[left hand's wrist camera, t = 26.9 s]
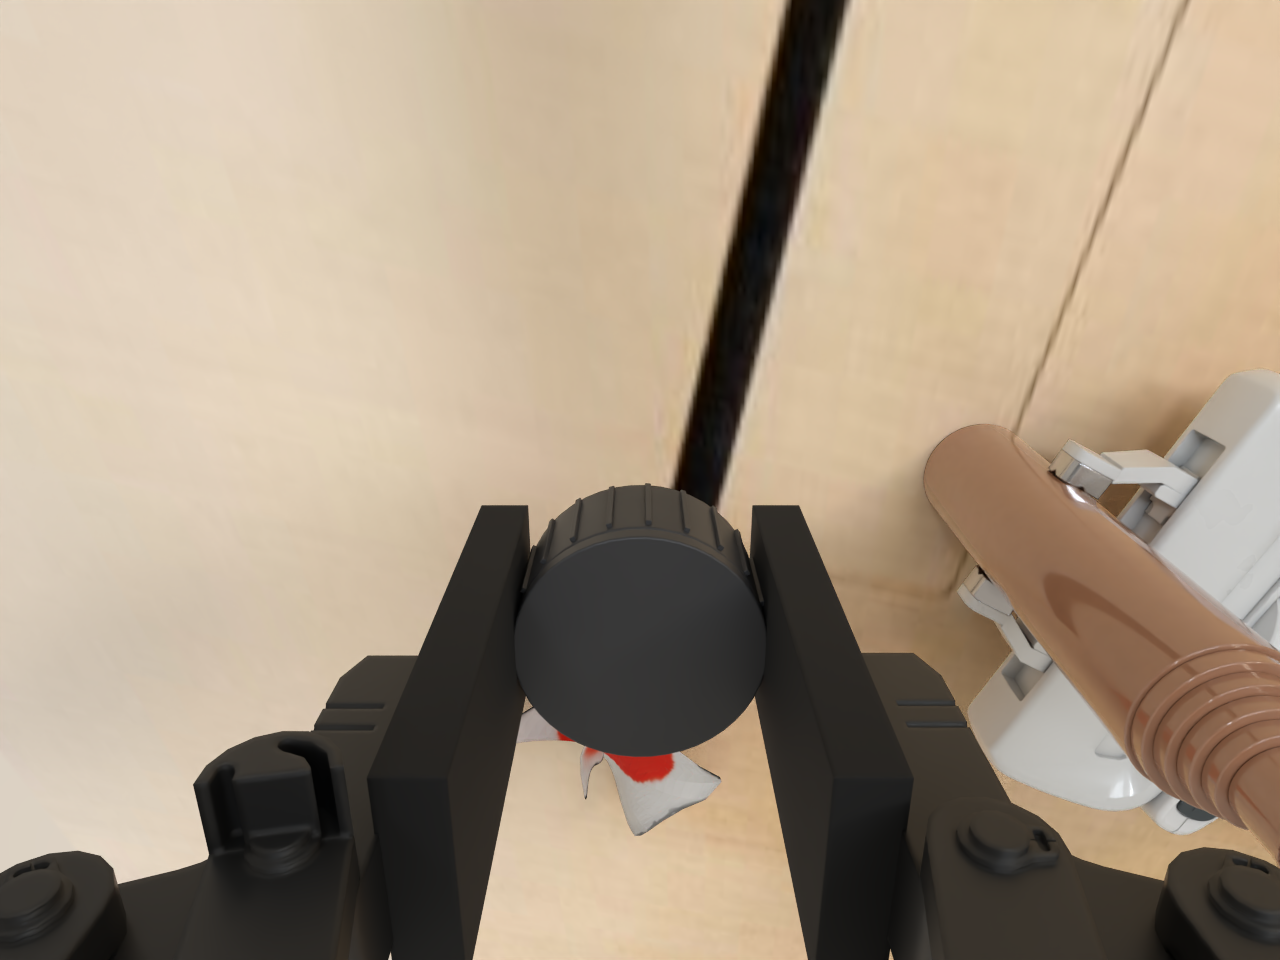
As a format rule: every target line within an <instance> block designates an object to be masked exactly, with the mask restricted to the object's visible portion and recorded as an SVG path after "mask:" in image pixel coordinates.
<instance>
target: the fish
mask: <svg viewBox="0 0 1280 960" xmlns="http://www.w3.org/2000/svg"><path fill="white" fill-rule="evenodd" d="M540 740H562V741H573V740H571V739H570V738H568V737H566V736H565V735H563V734H561V733H560V732H559V731H557V730H556V729H555V728H553V727H552V726H551V725H550V724H549V723H548V722H547V721H546V720H545V719H543V718H542V717H541V716H540V715H539V713H538V712H537V711H536V710H535V708H534V707H532V708H530V709H529V710H527V711H525V712H524V713H522V717H521V722H520V727H519V732H518V737H517V742H516V743H520V742H528V741H540ZM573 742H575V741H573ZM603 757H604V758H605V759H606V760H607V762H608V763H609V766H610V768H611V770H612V772H613V775H614V777H615V781H616V785H617V789H618V793H619V797H620V800H621V804H622V807H623V810H624V813H625V816H626V819H627V822H628V825H629V827H630V829H631V831H632V832H633V834H634V835H635V836H640V835H642V834H644V833H646V832H648V831H649V830H650V829H652V828H653V827H655V826H656V825H658V824H659V823H660V822H662V821H663V820H665V819H667V818H669V817H670V816H672V815H674V814H675V813H677V812H679V811H680V810H682V809H684V808H687V807H689V806H691V805H694V804H696V803H698V802H701V801H703V800H705V799H706V798H707V797H708V796H709V795H710V794H711V793H712V792H713V790H714V789H715V788H716V787H717V786H718V785H719V784H720V783H721V779H720V777H719V776H717V775H715V774H713V773H711V772H709V771H707V770H705V769H703V768H701V767H700V766H698V765H697V764H696V763H694V762H693V761H692V760H690V759H689V758H687V757H686V756H685V755H683V754H682V753H680V752H676V753H672V754H667V755H660V756H652V757H630V756H619V755H614V754H609V753H604V752H601V751H598V750H594V749H591V748H588V747H586V746H584V749H583V751H582V754H581V756H580V764H581V779H582V785H583V790H584V796H585V799H586V798H587V789H588V781H589V776H590V772H591V770H592V768H593V767H594V766H595V765H597V764H599V763H600V762H601V761H602V760H603Z"/></svg>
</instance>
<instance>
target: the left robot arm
mask: <svg viewBox="0 0 1280 960" xmlns="http://www.w3.org/2000/svg"><path fill="white" fill-rule="evenodd" d="M529 556H530V536H529V516H528V505H482V506H481V508H480V511H479V513H478V515H477V518H476V520H475V522H474V525H473V527H472V530H471V532H470V534H469V537H468V539H467V541H466V544H465V546H464V548H463V551H462V553H461V556H460V558H459V560H458V563H457V565H456V567H455V570H454V572H453V575H452V577H451V579H450V582H449V584H448V586H447V589H446V591H445V593H444V596H443V598H442V601H441V603H440V605H439V608H438V610H437V612H436V615H435V617H434V620H433V622H432V624H431V627H430V629H429V631H428V634H427V636H426V638H425V641H424V643H423V646H422V648H421V650H420V653H419V655H418V656H367V657H365V658H364V659H363V660H362V661H361V662H359V663H358V664H357V665H356V666H354V667H353V668H352V669H351V670H349V671H348V672H347V673H346V674H344V675H343V676H342V677H341V678H340V679H339V681H338V683H337V684H336V686H335V688H334V690H333V692H332V694H331V695H330V697H329V699H328V701H327V703H326V709H323V710H322V712H321V714H320V715H319V717H318V719H317V721H316V723H315V725H314V731H311V732H309V731H282V732H277V733H272V734H268V735H263V736H259V737H254V738H252V739H250V740H248V741H245V742H243V743H241V744H239V745H237V746H234V747H232V748H230V749H228V750H226V751H225V752H224V753H222V754H221V755H220V756H218V757H217V758H216V759H214V760H213V761H212V762H211V763H209V764H208V765H207V766H206V767H205V768H204V770H203V771H202V773H201V774H200V775H199V777H198V778H197V780H196V781H195V783H194V784H193V786H194V790H195V795H196V799H197V803H198V808H199V812H200V816H201V821H202V825H203V829H204V834H205V838H206V843H207V847H208V851H209V857H208V859H207V860H205V861H203V862H201V863H198V864H195V865H192V866H188V867H185V868H182V869H179V870H175V871H171V872H167V873H163V874H159V875H155V876H150V877H146V878H142V879H138V880H134V881H130V882H125V883H121V884H117V881H116V877H115V873H114V870H113V868H112V867H111V866H110V865H109V864H108V863H107V862H106V861H105V860H104V859H103V858H102V857H101V856H99V855H94V854H90V853H86V852H81V851H71V852H61V853H51V854H46V855H43V856H41V857H37V858H35V859H31V860H28V861H25V862H22V863H19V864H16V865H14V866H13V867H11V868H9V869H7V870H5V871H4V872H2V873H0V960H388V958H389V955H390V952H391V956H392V960H473V955H474V950H475V945H476V940H477V935H478V930H479V925H480V920H481V915H482V910H483V905H484V900H485V895H486V890H487V885H488V880H489V875H490V870H491V865H492V861H493V856H494V851H495V846H496V841H497V836H498V831H499V826H500V821H501V816H502V811H503V806H504V801H505V796H506V791H507V786H508V781H509V776H510V771H511V766H512V761H513V756H514V752H515V747H516V742H517V737H518V732H519V727H520V722H521V717H522V712H523V707H524V702H525V697H526V695H525V693H524V691H523V690H522V687H521V685H520V682H519V680H518V678H517V674H516V661H515V644H514V626H515V621H516V617H517V613H518V610H519V605H520V601H521V598H522V594H523V593H522V592H520V590H521V587H522V583H523V579H524V575H525V571H526V568H527V564H528V560H529ZM750 558H753V561H754V565H755V569H756V573H757V576H758V580H759V584H760V588H761V592H762V595H763V599H764V606H761V607H762V611H763V615H764V619H765V623H766V627H767V637H766V655H765V670H764V676H763V679H762V682H761V685H760V687H759V688H758V690H757V692H756V694H755V699H756V704H757V709H758V714H759V719H760V724H761V729H762V734H763V739H764V744H765V749H766V754H767V759H768V764H769V769H770V774H771V778H772V783H773V788H774V793H775V798H776V803H777V808H778V813H779V818H780V823H781V828H782V833H783V838H784V843H785V848H786V853H787V858H788V863H789V868H790V873H791V878H792V882H793V887H794V892H795V897H796V902H797V907H798V912H799V917H800V922H801V927H802V932H803V937H804V942H805V947H806V952H807V957H808V960H889V953H890V949H891V952H892V955H893V959H894V960H1280V868H1278V867H1276V866H1274V865H1272V864H1270V863H1269V862H1267V861H1264V860H1261V859H1258V858H1255V857H1252V856H1249V855H1246V854H1243V853H1240V852H1237V851H1234V850H1226V849H1216V848H1206V847H1203V848H1198V849H1194V850H1190V851H1185V852H1181V853H1180V854H1179V855H1178V856H1177V857H1176V858H1175V859H1174V860H1173V861H1172V862H1171V863H1170V864H1169V865H1168V869H1167V873H1166V876H1165V880H1164V881H1162V880H1158V879H1153V878H1149V877H1145V876H1141V875H1137V874H1133V873H1128V872H1124V871H1120V870H1116V869H1112V868H1107V867H1103V866H1100V865H1097V864H1094V863H1091V862H1088V861H1084V860H1081V859H1079V858H1077V857H1075V856H1073V855H1071V853H1070V851H1069V850H1068V848H1067V846H1066V845H1065V843H1064V841H1063V840H1062V838H1061V837H1060V835H1059V833H1057V832H1056V831H1055V830H1054V829H1053V828H1052V827H1050V826H1049V825H1048V824H1047V823H1046V822H1044V821H1043V820H1042V819H1041V818H1040V817H1039V816H1037V815H1035V814H1033V813H1031V812H1029V811H1027V810H1025V809H1023V808H1021V807H1019V806H1017V805H1015V804H1013V803H1011V801H1010V799H1009V798H1008V796H1007V794H1006V792H1005V790H1004V789H1003V787H1002V785H1001V783H1000V781H999V780H998V778H997V776H996V774H995V772H994V770H993V769H992V767H991V765H990V763H989V761H988V760H987V758H986V756H985V754H984V752H983V751H982V749H981V747H980V745H979V743H978V741H977V740H976V738H975V736H974V734H973V732H972V731H971V729H970V728H967V722H966V720H965V718H964V716H963V714H962V712H961V711H960V709H959V707H958V706H955V700H954V698H953V696H952V694H951V693H950V691H949V689H948V687H947V685H946V683H945V682H944V680H943V678H942V676H941V675H940V674H939V673H938V672H936V671H935V670H934V669H933V668H931V667H930V666H929V665H928V664H926V663H925V662H924V661H923V660H921V659H920V658H919V657H918V656H916V655H915V654H914V653H861V651H860V649H859V646H858V644H857V642H856V639H855V637H854V635H853V632H852V630H851V628H850V625H849V623H848V620H847V618H846V616H845V613H844V611H843V609H842V606H841V604H840V602H839V599H838V597H837V594H836V592H835V590H834V587H833V585H832V583H831V580H830V578H829V575H828V573H827V571H826V568H825V566H824V564H823V561H822V559H821V557H820V554H819V552H818V549H817V547H816V545H815V542H814V540H813V538H812V535H811V533H810V531H809V528H808V526H807V523H806V521H805V519H804V516H803V514H802V512H801V509H800V507H799V505H753V507H752V527H751V547H750Z"/></svg>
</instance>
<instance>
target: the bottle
mask: <svg viewBox="0 0 1280 960" xmlns="http://www.w3.org/2000/svg"><path fill="white" fill-rule="evenodd" d="M1050 464H1051V463H1050V462H1048V461H1047V460H1046V459H1045V458H1043V457H1042V456H1041V455H1040V454H1039V453H1037V452H1036V451H1035V450H1034V449H1032V448H1031V447H1030V446H1029V445H1028V444H1026V443H1025V442H1024V441H1023V440H1022V439H1020V438H1019V437H1018V436H1017V435H1015V434H1014V433H1013V432H1011V431H1009V430H1008V429H1006V428H1003V427H1000V426H996V425H990V424H978V425H972V426H968V427H965V428H962V429H960V430H957V431H956V432H954V433H952V434H950V435H949V436H948V437H946V438H945V439H944V440H943V441H942V442H940V444H939V445H938V446H937V447H936V448H935V450H934V451H933V452H932V454H931V456H930V458H929V460H928V462H927V465H926V468H925V472H924V487H925V492H926V495H927V497H928V499H929V501H930V503H931V504H932V505H933V507H934V508H935V509H936V511H937V512H938V513H939V515H940V516H941V517H942V518H943V520H944V521H945V522H946V524H947V525H948V526H949V527H950V529H951V530H952V531H953V533H954V534H955V535H956V537H957V538H958V539H959V540H960V542H961V543H962V544H963V546H964V547H965V548H966V550H967V551H968V552H969V553H970V555H971V556H972V557H973V559H974V560H975V561H976V562H977V564H978V565H979V566H980V568H981V569H982V570H983V572H984V573H985V574H986V575H987V577H988V578H989V579H990V581H991V582H992V583H993V584H994V586H995V587H996V588H997V590H998V591H999V592H1000V594H1001V595H1002V596H1003V597H1004V599H1005V600H1006V601H1007V603H1008V604H1009V605H1010V607H1011V608H1012V609H1013V610H1014V612H1015V613H1016V614H1017V616H1018V617H1019V618H1020V619H1021V621H1022V622H1023V623H1024V625H1025V626H1026V627H1027V629H1028V630H1029V631H1030V632H1031V634H1032V635H1033V636H1034V638H1035V639H1036V640H1037V642H1038V643H1039V644H1040V645H1041V647H1042V648H1043V649H1044V651H1045V652H1046V653H1047V654H1048V656H1049V657H1050V658H1051V660H1052V661H1053V662H1054V664H1055V665H1056V666H1057V667H1058V669H1059V670H1060V671H1061V673H1062V674H1063V675H1064V676H1065V678H1066V679H1067V680H1068V682H1069V683H1070V684H1071V686H1072V687H1073V688H1074V689H1075V691H1076V692H1077V693H1078V695H1079V696H1080V697H1081V699H1082V700H1083V701H1084V702H1085V704H1086V705H1087V706H1088V708H1089V709H1090V710H1091V711H1092V713H1093V714H1094V715H1095V717H1096V718H1097V719H1098V721H1099V722H1100V723H1101V724H1102V726H1103V727H1104V728H1105V730H1106V731H1107V732H1108V734H1109V735H1110V736H1111V737H1112V739H1113V740H1114V741H1115V743H1116V744H1117V745H1118V746H1119V748H1120V749H1121V750H1122V752H1123V753H1124V754H1125V756H1126V757H1127V758H1128V759H1129V761H1130V762H1131V763H1132V765H1133V766H1134V767H1135V768H1136V770H1137V771H1138V772H1139V773H1140V774H1141V775H1142V776H1144V777H1145V778H1147V779H1148V780H1149V781H1151V782H1153V783H1154V784H1155V785H1156V786H1157V787H1158V788H1159V789H1160V790H1162V791H1163V792H1165V793H1166V794H1168V795H1170V796H1172V797H1174V798H1176V799H1179V800H1182V801H1184V802H1186V803H1187V804H1189V805H1192V806H1194V807H1196V808H1198V809H1201V810H1204V811H1206V812H1208V813H1210V814H1212V815H1214V816H1216V817H1218V818H1221V819H1224V820H1227V821H1228V822H1230V823H1231V824H1233V825H1235V826H1237V827H1239V828H1242V829H1245V830H1250V831H1251V833H1252V834H1253V835H1254V836H1255V837H1256V838H1257V840H1258V841H1259V842H1260V843H1261V844H1262V845H1263V846H1264V848H1265V849H1266V850H1267V851H1268V852H1269V853H1270V855H1271V856H1272V857H1273V858H1274V859H1275V860H1276V862H1277V865H1278V868H1280V651H1279V650H1278V649H1277V648H1275V647H1274V646H1273V645H1272V644H1270V643H1269V642H1268V641H1267V640H1266V639H1264V638H1263V637H1262V636H1261V635H1259V634H1258V633H1257V632H1256V631H1255V630H1253V629H1252V628H1251V627H1250V626H1249V625H1247V624H1246V623H1245V622H1244V621H1242V620H1241V619H1240V618H1239V617H1238V616H1236V615H1235V614H1234V613H1233V612H1231V611H1230V610H1229V609H1228V608H1227V607H1225V606H1224V605H1223V604H1222V603H1220V602H1219V601H1218V600H1217V599H1216V598H1214V597H1213V596H1212V595H1211V594H1209V593H1208V592H1207V591H1206V590H1205V589H1203V588H1202V587H1201V586H1200V585H1198V584H1197V583H1196V582H1195V581H1194V580H1192V579H1191V578H1190V577H1189V576H1187V575H1186V574H1185V573H1184V572H1183V571H1181V570H1180V569H1179V568H1178V567H1177V566H1175V565H1174V564H1173V563H1172V562H1170V561H1169V560H1168V559H1167V558H1166V557H1164V556H1163V555H1162V554H1161V553H1159V552H1158V551H1157V550H1156V549H1155V548H1153V547H1152V546H1151V545H1150V544H1148V543H1147V542H1146V541H1145V540H1144V539H1142V538H1141V537H1140V536H1139V535H1137V534H1136V533H1135V532H1134V531H1133V530H1131V529H1130V528H1129V527H1128V526H1126V525H1125V524H1124V523H1123V522H1122V521H1120V520H1119V519H1118V518H1117V517H1115V516H1114V515H1113V514H1112V513H1111V512H1109V511H1108V510H1107V509H1106V508H1105V507H1103V506H1102V505H1101V504H1100V503H1098V502H1097V501H1096V500H1095V499H1094V498H1092V497H1091V496H1090V495H1088V494H1087V493H1086V492H1084V491H1083V490H1082V489H1081V488H1080V487H1079V488H1077V487H1074V486H1072V485H1070V484H1068V483H1066V482H1065V481H1063V480H1062V479H1060V478H1059V477H1058V476H1056V473H1054V472H1052V471H1050V470H1049V469H1048V467H1049V466H1050Z"/></svg>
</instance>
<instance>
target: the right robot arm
mask: <svg viewBox="0 0 1280 960" xmlns="http://www.w3.org/2000/svg"><path fill="white" fill-rule="evenodd" d="M1048 469H1049V470H1050V471H1052V472H1054V473H1056V476H1058V477H1059V478H1060V479H1062V480H1063V481H1065V482H1066V483H1068V484H1070V485H1072V486H1074V487H1077V488H1079V487H1080V488H1081V489H1082V490H1083V491H1084V492H1086V493H1087V494H1088V495H1090V496H1092V497H1094V498H1096V499H1099V498H1100V496H1101V495H1102V494H1103V493H1104V491H1105V490H1106V489H1107V488H1108V486H1109V485H1110V484H1111V483H1112V484H1138V485H1139V486H1141V487H1140V488H1139V489H1138V491H1137V492H1136V493H1135V495H1134V496H1133V497H1132V498H1131V500H1130V501H1129V502H1128V504H1127V505H1126V506H1125V507H1124V509H1123V510H1122V511H1121V512H1120V514H1119V515H1118V516H1117V518H1118V519H1119V520H1120V521H1122V522H1123V523H1124V524H1125V525H1126V526H1128V527H1129V528H1130V529H1131V530H1133V531H1134V532H1135V533H1136V534H1137V535H1139V536H1140V537H1141V538H1142V539H1144V540H1145V541H1146V542H1147V543H1148V544H1150V545H1151V546H1152V547H1153V548H1155V549H1156V550H1157V551H1158V552H1159V553H1161V554H1162V555H1163V556H1164V557H1166V558H1167V559H1168V560H1169V561H1170V562H1172V563H1173V564H1174V565H1175V566H1177V567H1178V568H1179V569H1180V570H1181V571H1183V572H1184V573H1185V574H1186V575H1187V576H1189V577H1190V578H1191V579H1192V580H1194V581H1195V582H1196V583H1197V584H1198V585H1200V586H1201V587H1202V588H1203V589H1205V590H1206V591H1207V592H1208V593H1209V594H1211V595H1212V596H1213V597H1214V598H1216V599H1217V600H1218V601H1219V602H1220V603H1222V604H1223V605H1224V606H1225V607H1227V608H1228V609H1229V610H1230V611H1231V612H1233V613H1234V614H1235V615H1236V616H1238V617H1239V618H1240V619H1241V620H1242V621H1244V622H1245V623H1246V624H1247V625H1249V626H1250V627H1251V628H1252V629H1253V630H1255V631H1256V632H1257V633H1258V634H1259V635H1261V636H1262V637H1263V638H1264V639H1266V640H1267V641H1268V642H1269V643H1270V644H1272V645H1273V646H1274V647H1275V648H1277V649H1278V650H1279V651H1280V373H1277V372H1274V371H1271V370H1268V369H1263V368H1260V369H1254V370H1248V371H1242V372H1237V373H1233V374H1231V375H1230V376H1228V377H1227V378H1226V379H1225V380H1224V381H1223V382H1222V384H1221V385H1220V386H1219V387H1218V389H1217V390H1216V391H1215V393H1214V394H1213V395H1212V396H1211V398H1210V399H1209V400H1208V401H1207V403H1206V404H1205V405H1204V407H1203V408H1202V409H1201V410H1200V412H1199V413H1198V414H1197V416H1196V417H1195V418H1194V419H1193V421H1192V422H1191V423H1190V424H1189V426H1188V427H1187V428H1186V430H1185V431H1184V432H1183V433H1182V435H1181V436H1180V437H1179V438H1178V440H1177V441H1176V442H1175V444H1174V445H1173V446H1172V447H1171V449H1170V450H1169V451H1168V452H1167V454H1166V455H1165V456H1164V458H1162V457H1160V456H1158V455H1156V454H1155V453H1153V452H1151V451H1149V450H1147V449H1144V450H1129V451H1115V452H1102V453H1101V454H1100V455H1099V454H1097V453H1096V452H1094V451H1092V450H1090V449H1088V448H1086V447H1085V446H1083V445H1081V444H1079V443H1077V442H1075V441H1073V440H1071V439H1069V440H1068V441H1067V442H1066V444H1065V445H1064V446H1063V448H1062V449H1061V451H1060V452H1059V453H1058V455H1057V456H1056V457H1055V459H1054V460H1053V462H1052V463H1051V464H1050V466H1049V467H1048ZM957 593H958V594H959V596H960V597H961V599H962V600H963V602H964V603H965V604H966V605H967V606H968V607H969V608H971V609H972V610H973V611H975V612H977V613H979V614H981V615H983V616H985V617H987V618H989V619H991V620H993V621H994V622H995V624H996V626H997V628H998V629H999V631H1000V633H1001V635H1002V636H1003V638H1004V639H1005V641H1006V642H1007V643H1008V645H1009V646H1010V648H1011V649H1012V651H1011V653H1010V654H1009V655H1008V656H1007V658H1006V659H1005V660H1004V661H1003V663H1002V664H1001V665H1000V667H999V668H998V669H997V670H996V672H995V673H994V674H993V675H992V677H991V678H990V679H989V681H988V682H987V683H986V684H985V686H984V687H983V688H982V689H981V691H980V692H979V693H978V694H977V696H976V697H975V698H974V699H973V701H972V702H971V703H970V705H969V707H968V710H967V713H968V718H969V721H970V724H971V727H972V730H973V733H974V735H975V737H976V739H977V741H978V743H979V745H980V747H981V749H982V750H983V752H984V754H985V755H986V757H987V758H988V760H989V761H990V762H991V764H992V765H993V766H994V767H995V768H996V769H997V770H998V771H1000V772H1001V773H1003V774H1004V775H1006V776H1008V777H1010V778H1012V779H1014V780H1016V781H1018V782H1020V783H1023V784H1025V785H1027V786H1030V787H1032V788H1034V789H1037V790H1039V791H1042V792H1045V793H1047V794H1050V795H1053V796H1055V797H1058V798H1061V799H1064V800H1067V801H1070V802H1073V803H1076V804H1079V805H1082V806H1086V807H1089V808H1093V809H1098V810H1104V811H1125V810H1130V809H1134V808H1137V807H1140V808H1141V809H1142V810H1143V811H1144V812H1145V813H1146V814H1147V815H1148V816H1149V817H1150V818H1151V819H1152V820H1153V821H1154V822H1155V823H1156V824H1157V825H1158V826H1159V827H1161V828H1162V829H1164V830H1166V831H1168V832H1170V833H1173V834H1177V835H1187V834H1191V833H1194V832H1196V831H1198V830H1200V829H1202V828H1203V827H1205V826H1207V825H1208V824H1210V823H1211V822H1213V821H1215V820H1216V819H1218V817H1216V816H1214V815H1212V814H1210V813H1208V812H1206V811H1204V810H1201V809H1198V808H1196V807H1194V806H1192V805H1189V804H1187V803H1186V802H1184V801H1182V800H1179V799H1176V798H1174V797H1172V796H1170V795H1168V794H1166V793H1165V792H1163V791H1162V790H1160V789H1159V788H1158V787H1157V786H1156V785H1155V784H1154V783H1153V782H1151V781H1149V780H1148V779H1147V778H1145V777H1144V776H1142V775H1141V774H1140V773H1139V772H1138V771H1137V770H1136V768H1135V767H1134V766H1133V765H1132V763H1131V762H1130V761H1129V759H1128V758H1127V757H1126V756H1125V754H1124V753H1123V752H1122V750H1121V749H1120V748H1119V746H1118V745H1117V744H1116V743H1115V741H1114V740H1113V739H1112V737H1111V736H1110V735H1109V734H1108V732H1107V731H1106V730H1105V728H1104V727H1103V726H1102V724H1101V723H1100V722H1099V721H1098V719H1097V718H1096V717H1095V715H1094V714H1093V713H1092V711H1091V710H1090V709H1089V708H1088V706H1087V705H1086V704H1085V702H1084V701H1083V700H1082V699H1081V697H1080V696H1079V695H1078V693H1077V692H1076V691H1075V689H1074V688H1073V687H1072V686H1071V684H1070V683H1069V682H1068V680H1067V679H1066V678H1065V676H1064V675H1063V674H1062V673H1061V671H1060V670H1059V669H1058V667H1057V666H1056V665H1055V664H1054V662H1053V661H1052V660H1051V658H1050V657H1049V656H1048V654H1047V653H1046V652H1045V651H1044V649H1043V648H1042V647H1041V645H1040V644H1039V643H1038V642H1037V640H1036V639H1035V638H1034V636H1033V635H1032V634H1031V632H1030V631H1029V630H1028V629H1027V627H1026V626H1025V625H1024V623H1023V622H1022V621H1021V619H1020V618H1019V617H1017V619H1016V620H1015V619H1014V617H1013V615H1012V614H1011V613H1012V611H1013V609H1012V608H1011V607H1010V605H1009V604H1008V603H1007V601H1006V600H1005V599H1004V597H1003V596H1002V595H1001V594H1000V592H999V591H998V590H997V588H996V587H995V586H994V584H993V583H992V582H991V581H990V579H989V578H988V577H987V575H986V574H985V573H984V572H983V570H982V569H981V568H980V566H979V565H976V566H975V567H974V569H973V570H972V571H971V572H970V574H969V575H968V576H967V578H966V579H965V580H964V582H963V583H962V584H961V586H960V587H959V589H958V590H957Z"/></svg>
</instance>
